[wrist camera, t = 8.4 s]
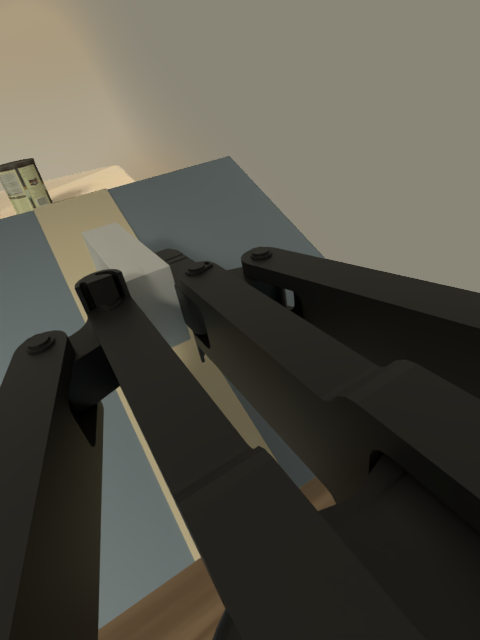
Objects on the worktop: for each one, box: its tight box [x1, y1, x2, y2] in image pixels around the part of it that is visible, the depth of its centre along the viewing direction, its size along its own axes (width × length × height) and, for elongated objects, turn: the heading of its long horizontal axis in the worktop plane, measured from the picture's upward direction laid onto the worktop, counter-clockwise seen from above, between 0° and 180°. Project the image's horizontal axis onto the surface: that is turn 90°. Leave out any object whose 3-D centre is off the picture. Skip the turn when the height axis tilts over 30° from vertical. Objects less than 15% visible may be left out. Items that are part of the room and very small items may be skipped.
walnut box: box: [98, 477, 336, 640], centre depth 23 cm, size 18×20×9 cm
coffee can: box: [0, 158, 52, 214], centre depth 103 cm, size 10×10×14 cm
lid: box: [0, 156, 325, 630], centre depth 17 cm, size 18×20×1 cm
